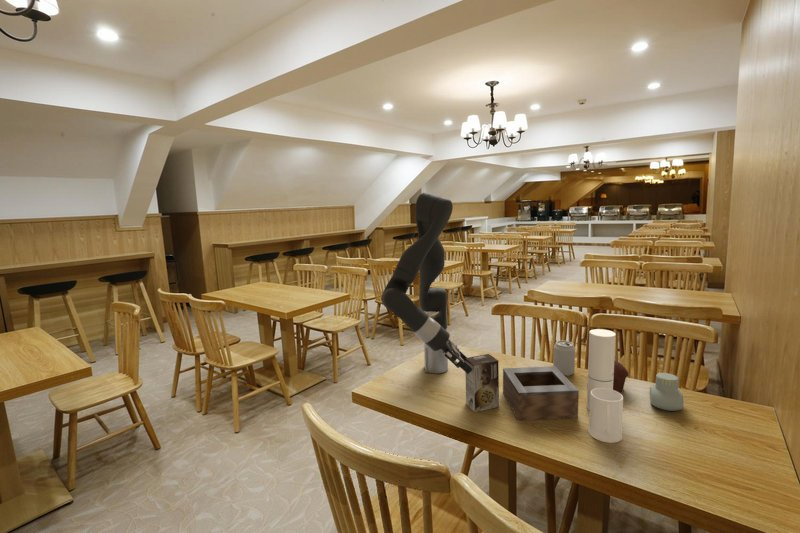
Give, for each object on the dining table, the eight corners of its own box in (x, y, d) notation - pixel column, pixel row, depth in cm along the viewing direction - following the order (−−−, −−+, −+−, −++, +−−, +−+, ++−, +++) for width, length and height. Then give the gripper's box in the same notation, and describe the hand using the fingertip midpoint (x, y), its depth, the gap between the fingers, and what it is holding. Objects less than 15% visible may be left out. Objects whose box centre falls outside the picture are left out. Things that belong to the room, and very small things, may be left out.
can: (577, 376, 149) (578, 346, 147) (557, 377, 149) (558, 346, 147) (569, 368, 156) (570, 339, 154) (550, 369, 156) (551, 339, 154)
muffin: (583, 384, 142) (584, 358, 141) (607, 378, 146) (608, 352, 144) (611, 399, 131) (612, 370, 130) (635, 392, 135) (637, 364, 133)
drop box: (518, 420, 121) (518, 392, 119) (503, 392, 139) (503, 368, 137) (577, 418, 121) (578, 390, 119) (554, 390, 139) (555, 366, 137)
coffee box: (489, 398, 135) (489, 353, 133) (499, 407, 129) (499, 360, 126) (465, 403, 132) (464, 357, 130) (474, 412, 126) (473, 364, 124)
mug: (622, 453, 104) (624, 410, 102) (586, 444, 108) (588, 403, 106) (621, 429, 114) (623, 390, 112) (588, 423, 118) (590, 385, 116)
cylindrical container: (614, 407, 126) (618, 332, 122) (607, 417, 121) (611, 338, 117) (590, 400, 131) (593, 327, 127) (583, 409, 126) (586, 333, 122)
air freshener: (648, 396, 133) (650, 367, 131) (678, 401, 129) (681, 371, 127) (651, 411, 123) (653, 381, 122) (683, 417, 119) (686, 386, 118)
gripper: (442, 331, 119) (480, 366, 121) (437, 318, 133) (472, 349, 135) (424, 349, 120) (463, 383, 122) (422, 334, 134) (456, 365, 136)
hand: (467, 365), depth 128 cm, fingers open, 8 cm apart
